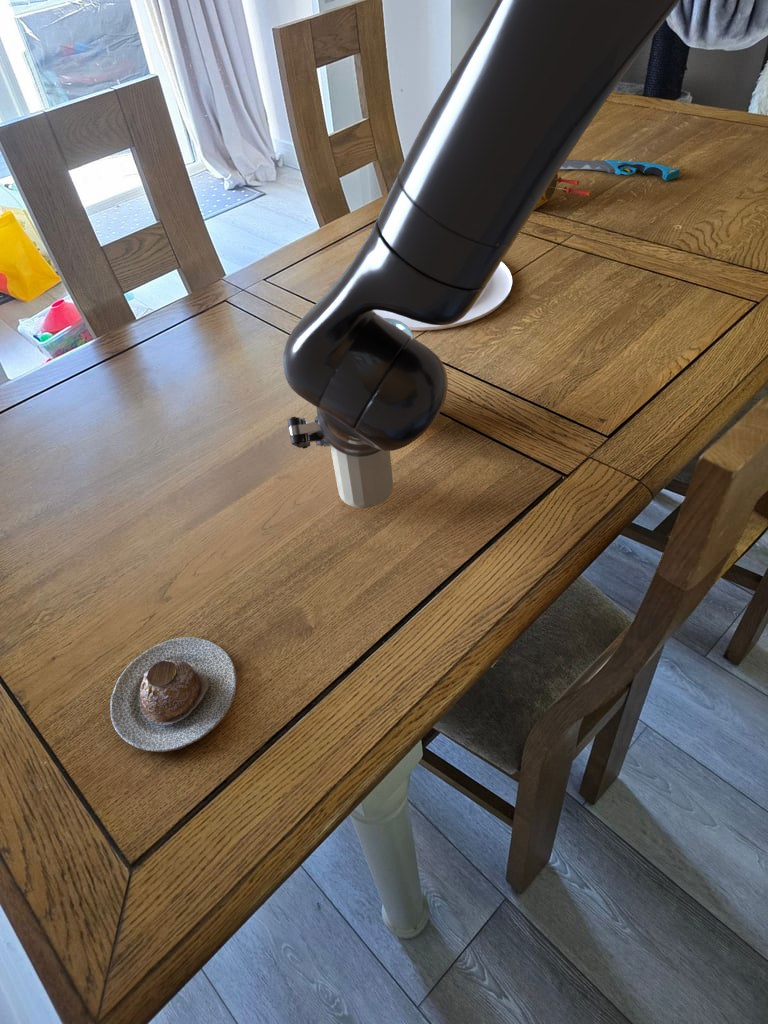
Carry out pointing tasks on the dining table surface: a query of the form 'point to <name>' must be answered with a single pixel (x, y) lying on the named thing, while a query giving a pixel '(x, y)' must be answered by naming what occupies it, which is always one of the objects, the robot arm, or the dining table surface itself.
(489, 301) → the plate
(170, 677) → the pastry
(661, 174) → the knife
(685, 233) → the dining table surface
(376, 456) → the white faceted vase
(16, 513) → the dining table surface
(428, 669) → the dining table surface
